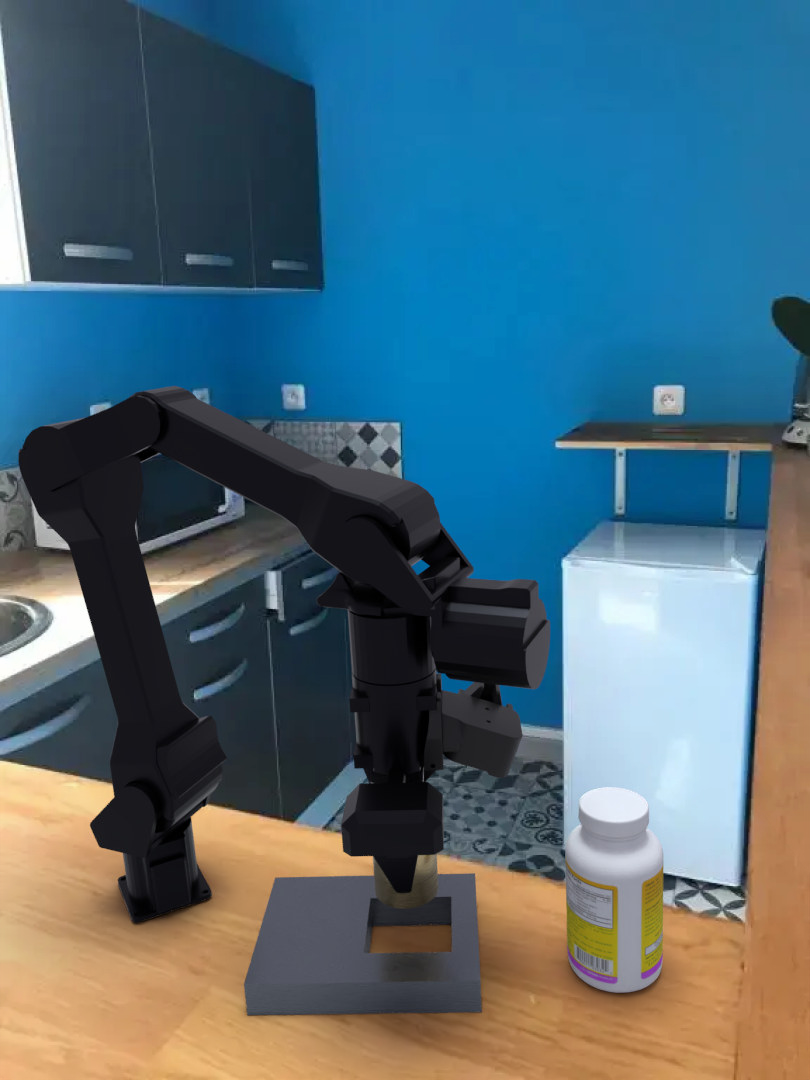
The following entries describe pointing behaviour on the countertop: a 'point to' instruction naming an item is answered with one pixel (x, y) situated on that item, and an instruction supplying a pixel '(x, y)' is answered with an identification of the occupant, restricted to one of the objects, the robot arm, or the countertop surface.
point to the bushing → (421, 889)
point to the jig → (361, 951)
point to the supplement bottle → (614, 892)
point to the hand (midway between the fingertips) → (405, 870)
